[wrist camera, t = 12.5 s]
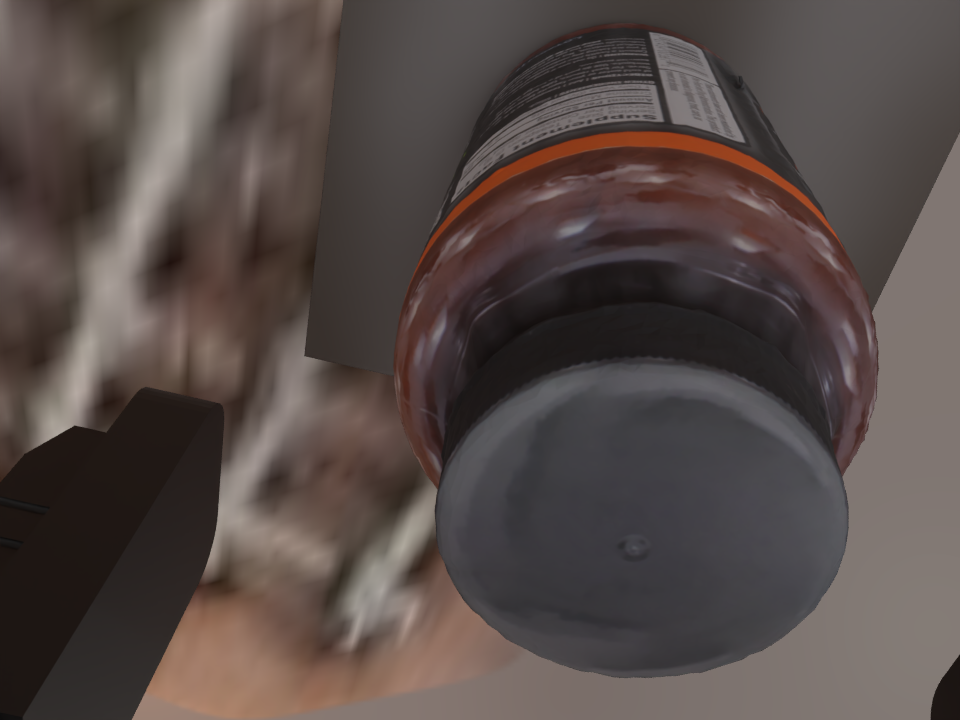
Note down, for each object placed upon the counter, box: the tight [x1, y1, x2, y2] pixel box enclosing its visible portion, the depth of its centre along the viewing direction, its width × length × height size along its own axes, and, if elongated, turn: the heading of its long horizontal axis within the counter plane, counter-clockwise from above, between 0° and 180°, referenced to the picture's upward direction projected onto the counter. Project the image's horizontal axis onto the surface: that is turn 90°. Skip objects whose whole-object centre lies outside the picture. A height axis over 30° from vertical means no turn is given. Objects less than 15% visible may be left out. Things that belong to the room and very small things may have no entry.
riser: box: [304, 0, 960, 376], centre depth 20 cm, size 12×12×4 cm
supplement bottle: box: [393, 23, 879, 678], centre depth 14 cm, size 6×6×11 cm
